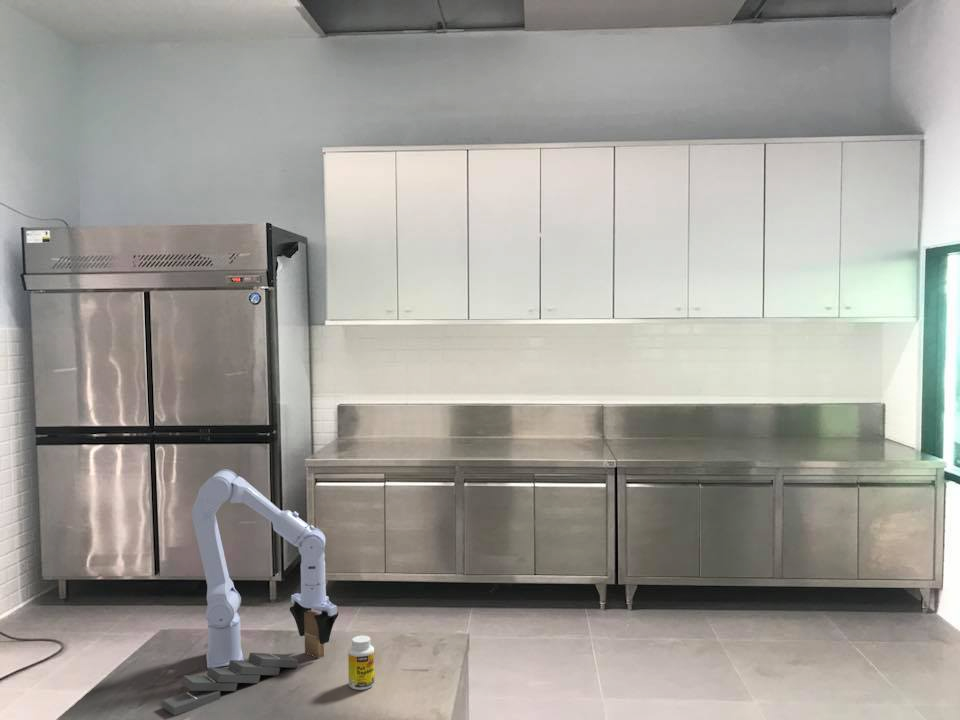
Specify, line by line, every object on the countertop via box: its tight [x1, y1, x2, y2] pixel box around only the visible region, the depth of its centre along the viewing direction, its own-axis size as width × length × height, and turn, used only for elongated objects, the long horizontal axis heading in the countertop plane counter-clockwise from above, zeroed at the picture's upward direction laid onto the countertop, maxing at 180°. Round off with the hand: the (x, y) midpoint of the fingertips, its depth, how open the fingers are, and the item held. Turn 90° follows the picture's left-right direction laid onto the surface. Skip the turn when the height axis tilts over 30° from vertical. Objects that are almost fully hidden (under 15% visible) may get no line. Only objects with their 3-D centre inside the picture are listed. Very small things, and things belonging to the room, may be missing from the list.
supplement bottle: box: [347, 635, 375, 691], centre depth 169 cm, size 6×6×10 cm
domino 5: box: [247, 652, 300, 669], centre depth 177 cm, size 2×5×10 cm
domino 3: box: [206, 667, 261, 684], centre depth 169 cm, size 2×5×10 cm
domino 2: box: [162, 690, 221, 716], centre depth 162 cm, size 2×5×10 cm
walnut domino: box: [304, 610, 325, 659], centre depth 186 cm, size 2×5×10 cm, turn 51°
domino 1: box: [181, 675, 239, 692], centre depth 166 cm, size 2×5×10 cm
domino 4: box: [227, 660, 281, 676], centre depth 173 cm, size 2×5×10 cm
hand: (314, 638), depth 186 cm, fingers open, 7 cm apart
